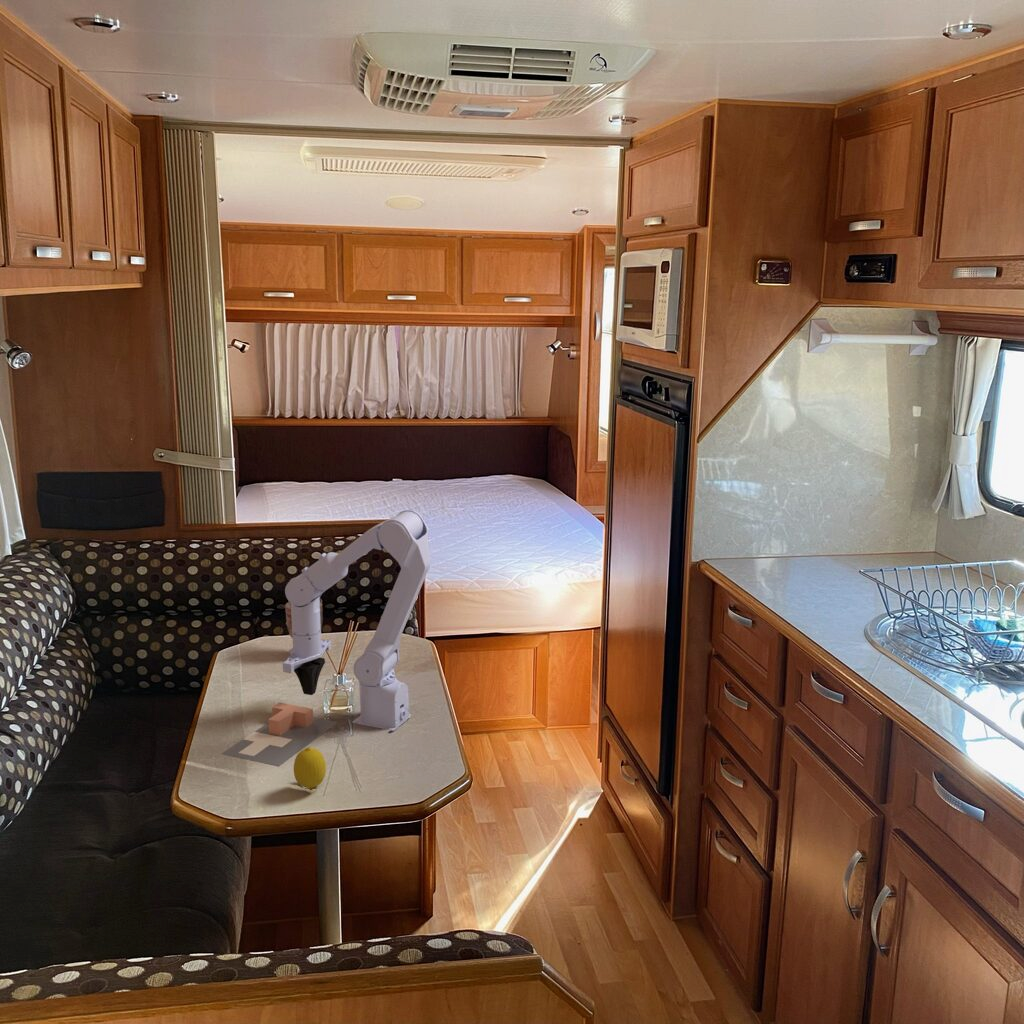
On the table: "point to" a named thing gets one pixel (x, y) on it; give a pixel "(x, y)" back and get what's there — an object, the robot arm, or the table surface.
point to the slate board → (278, 743)
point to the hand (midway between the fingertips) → (309, 693)
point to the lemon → (309, 768)
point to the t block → (289, 718)
